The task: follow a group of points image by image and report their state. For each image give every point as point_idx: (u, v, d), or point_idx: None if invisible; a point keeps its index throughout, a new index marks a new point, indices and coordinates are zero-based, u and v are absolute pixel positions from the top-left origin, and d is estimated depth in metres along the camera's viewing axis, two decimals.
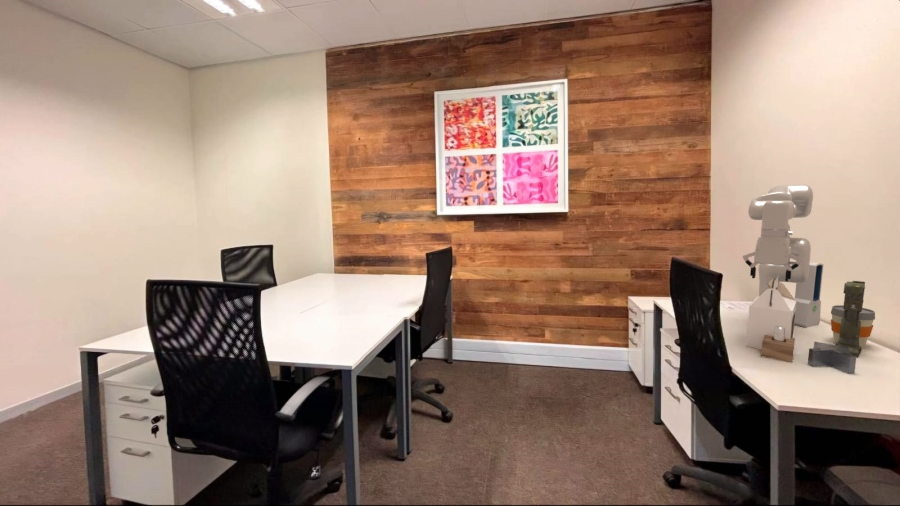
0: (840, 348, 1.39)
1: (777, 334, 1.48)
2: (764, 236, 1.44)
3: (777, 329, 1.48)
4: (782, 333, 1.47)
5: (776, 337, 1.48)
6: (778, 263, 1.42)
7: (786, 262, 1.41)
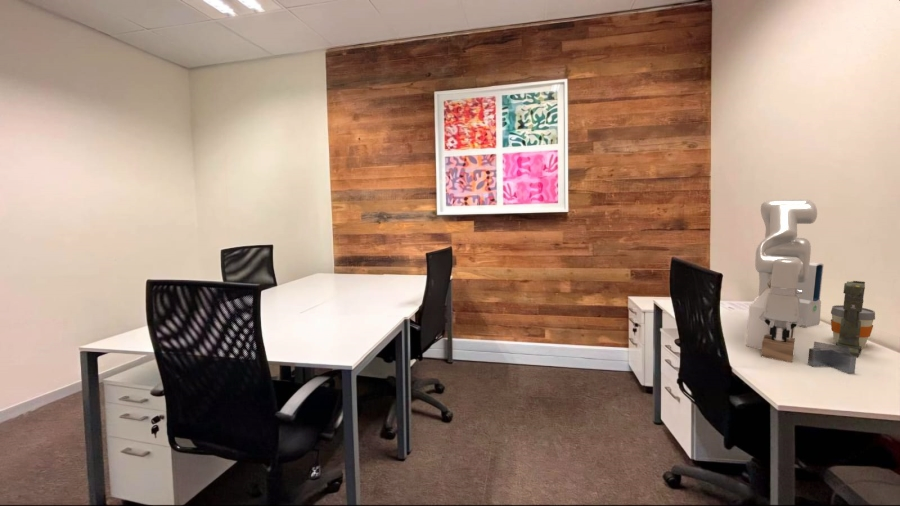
0: (840, 348, 1.39)
1: (777, 334, 1.48)
2: (774, 293, 1.46)
3: (777, 329, 1.48)
4: (782, 333, 1.47)
5: (776, 337, 1.48)
6: (788, 320, 1.45)
7: (796, 320, 1.43)
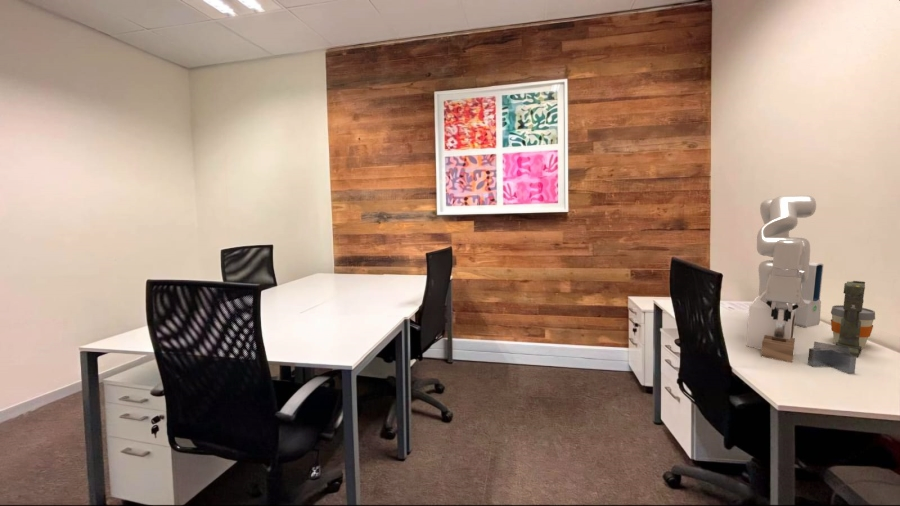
0: (840, 348, 1.39)
1: (779, 315, 1.47)
2: (776, 275, 1.45)
3: (779, 310, 1.47)
4: (784, 314, 1.46)
5: (778, 319, 1.47)
6: (789, 301, 1.44)
7: (797, 301, 1.42)
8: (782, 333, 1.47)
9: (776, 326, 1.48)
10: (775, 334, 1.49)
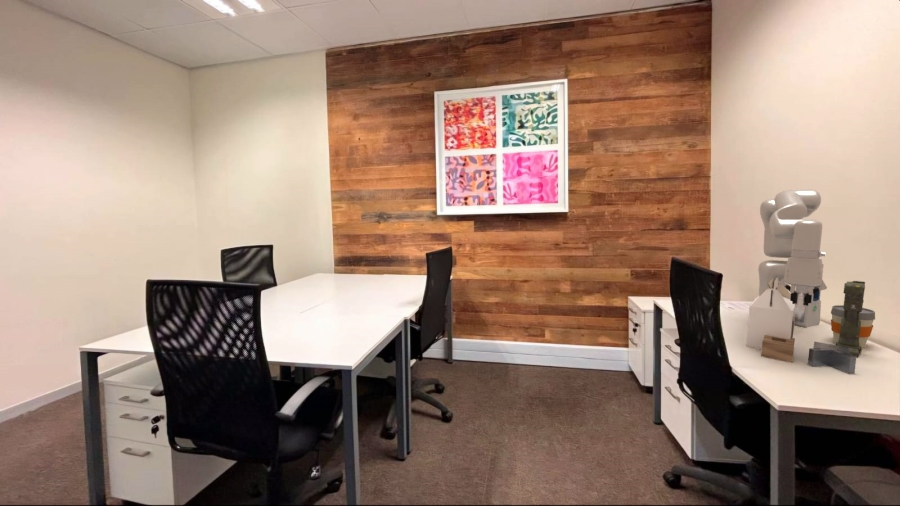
0: (840, 348, 1.39)
1: (798, 299, 1.41)
2: (795, 257, 1.40)
3: (798, 294, 1.41)
4: (803, 298, 1.40)
5: (797, 303, 1.42)
6: (810, 285, 1.38)
7: (818, 284, 1.37)
8: (802, 318, 1.41)
9: (795, 311, 1.42)
10: (794, 319, 1.43)
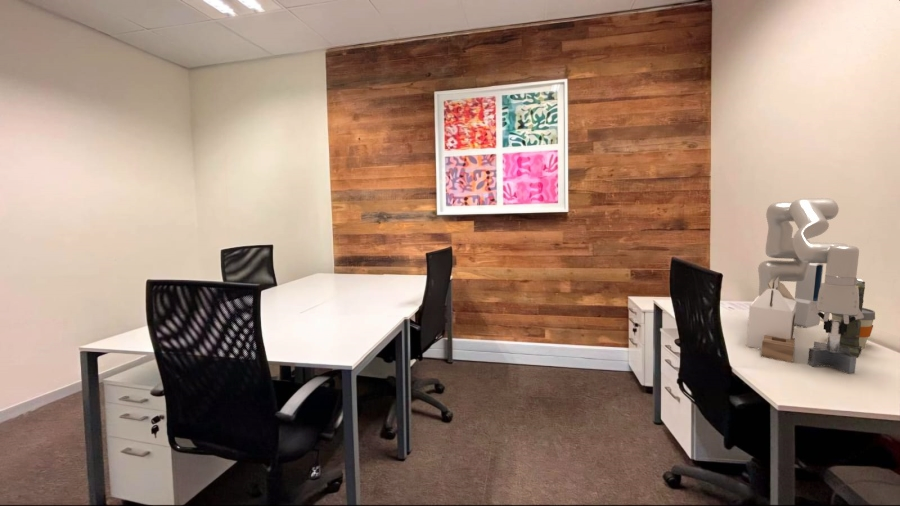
0: (840, 348, 1.39)
1: (833, 328, 1.34)
2: (830, 283, 1.32)
3: (833, 323, 1.34)
4: (839, 327, 1.33)
5: (831, 332, 1.34)
6: (846, 313, 1.31)
7: (855, 313, 1.29)
8: (837, 348, 1.34)
9: (829, 340, 1.35)
10: (828, 349, 1.35)
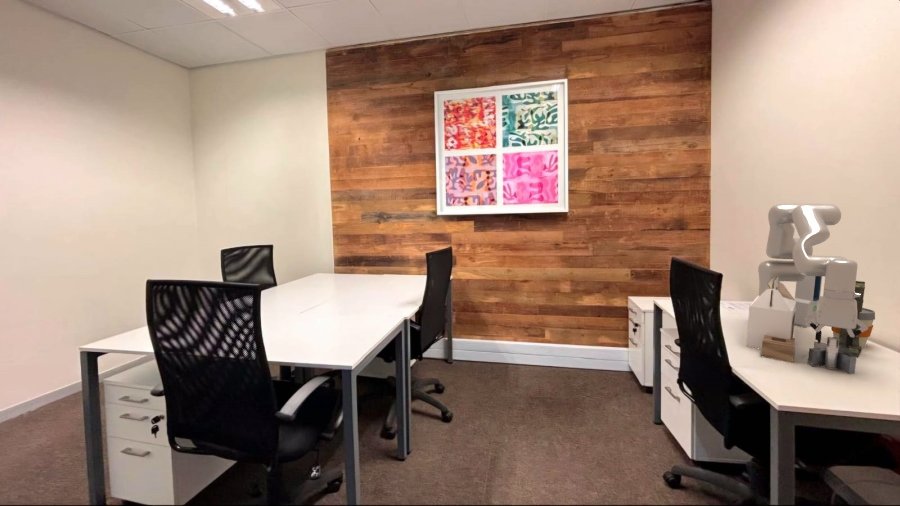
0: (840, 348, 1.39)
1: (830, 346, 1.35)
2: (828, 297, 1.33)
3: (830, 340, 1.35)
4: (836, 345, 1.34)
5: (829, 349, 1.35)
6: (844, 327, 1.32)
7: (853, 326, 1.30)
8: (834, 365, 1.35)
9: (827, 357, 1.36)
10: (826, 366, 1.37)
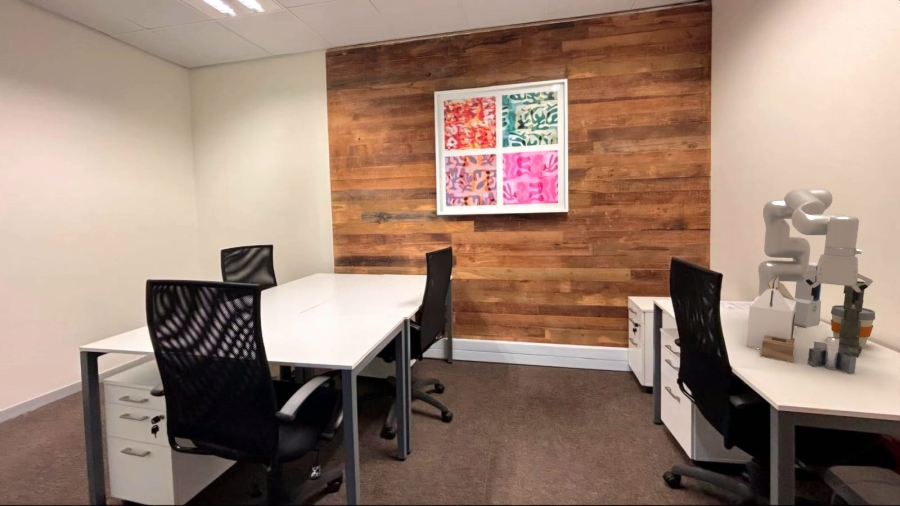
0: (840, 348, 1.39)
1: (830, 346, 1.35)
2: (829, 254, 1.33)
3: (830, 340, 1.35)
4: (836, 345, 1.34)
5: (829, 349, 1.35)
6: (845, 284, 1.32)
7: (854, 283, 1.30)
8: (834, 365, 1.35)
9: (827, 357, 1.36)
10: (826, 366, 1.37)
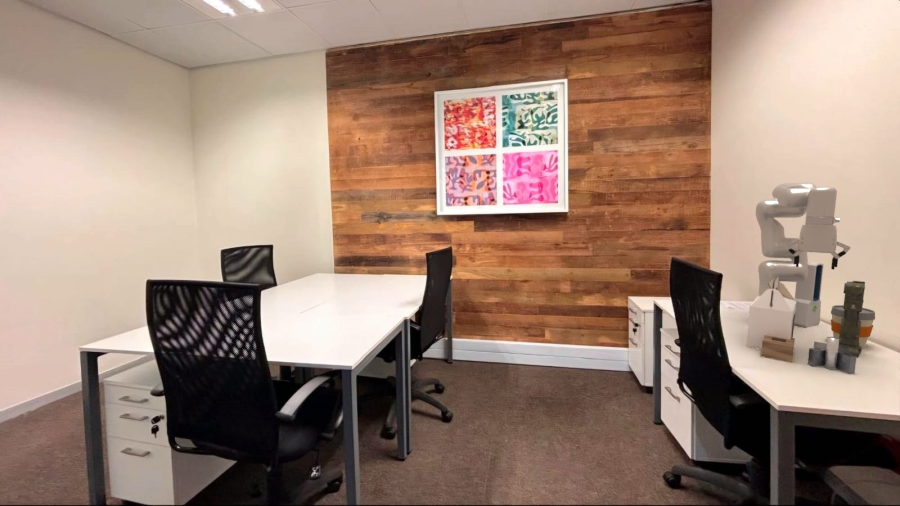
0: (840, 348, 1.39)
1: (830, 346, 1.35)
2: (810, 224, 1.41)
3: (830, 340, 1.35)
4: (836, 345, 1.34)
5: (829, 349, 1.35)
6: (824, 251, 1.40)
7: (833, 250, 1.38)
8: (834, 365, 1.35)
9: (827, 357, 1.36)
10: (826, 366, 1.37)
